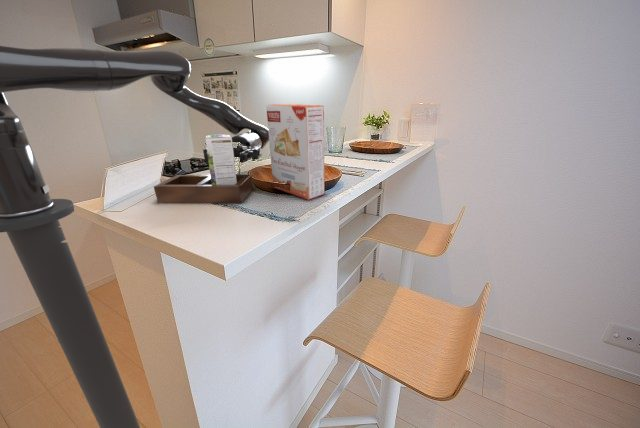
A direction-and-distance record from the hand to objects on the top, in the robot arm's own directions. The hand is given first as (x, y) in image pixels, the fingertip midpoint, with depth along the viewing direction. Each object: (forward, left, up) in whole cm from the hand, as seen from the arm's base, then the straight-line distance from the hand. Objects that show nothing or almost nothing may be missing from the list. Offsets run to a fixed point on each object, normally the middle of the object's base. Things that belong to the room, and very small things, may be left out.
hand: (224, 158), depth 69 cm
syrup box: (0, -2, -9) cm, 9 cm away
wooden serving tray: (-4, -2, -9) cm, 10 cm away
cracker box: (+18, +1, -9) cm, 20 cm away
